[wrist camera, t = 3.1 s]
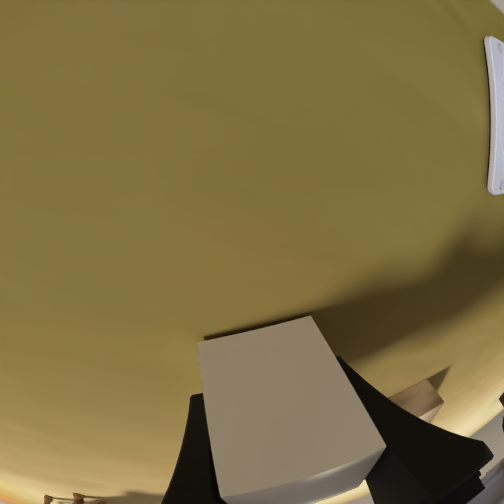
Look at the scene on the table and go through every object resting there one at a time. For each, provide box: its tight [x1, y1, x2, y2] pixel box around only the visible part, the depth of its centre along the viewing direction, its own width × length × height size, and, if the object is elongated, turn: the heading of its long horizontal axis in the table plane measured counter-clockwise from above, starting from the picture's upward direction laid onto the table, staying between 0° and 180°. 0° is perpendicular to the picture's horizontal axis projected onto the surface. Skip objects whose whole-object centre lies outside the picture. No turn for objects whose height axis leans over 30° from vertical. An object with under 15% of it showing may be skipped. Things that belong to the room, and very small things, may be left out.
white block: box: [197, 316, 386, 504], centre depth 9 cm, size 4×4×6 cm
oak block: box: [388, 379, 444, 423], centre depth 18 cm, size 12×12×3 cm
